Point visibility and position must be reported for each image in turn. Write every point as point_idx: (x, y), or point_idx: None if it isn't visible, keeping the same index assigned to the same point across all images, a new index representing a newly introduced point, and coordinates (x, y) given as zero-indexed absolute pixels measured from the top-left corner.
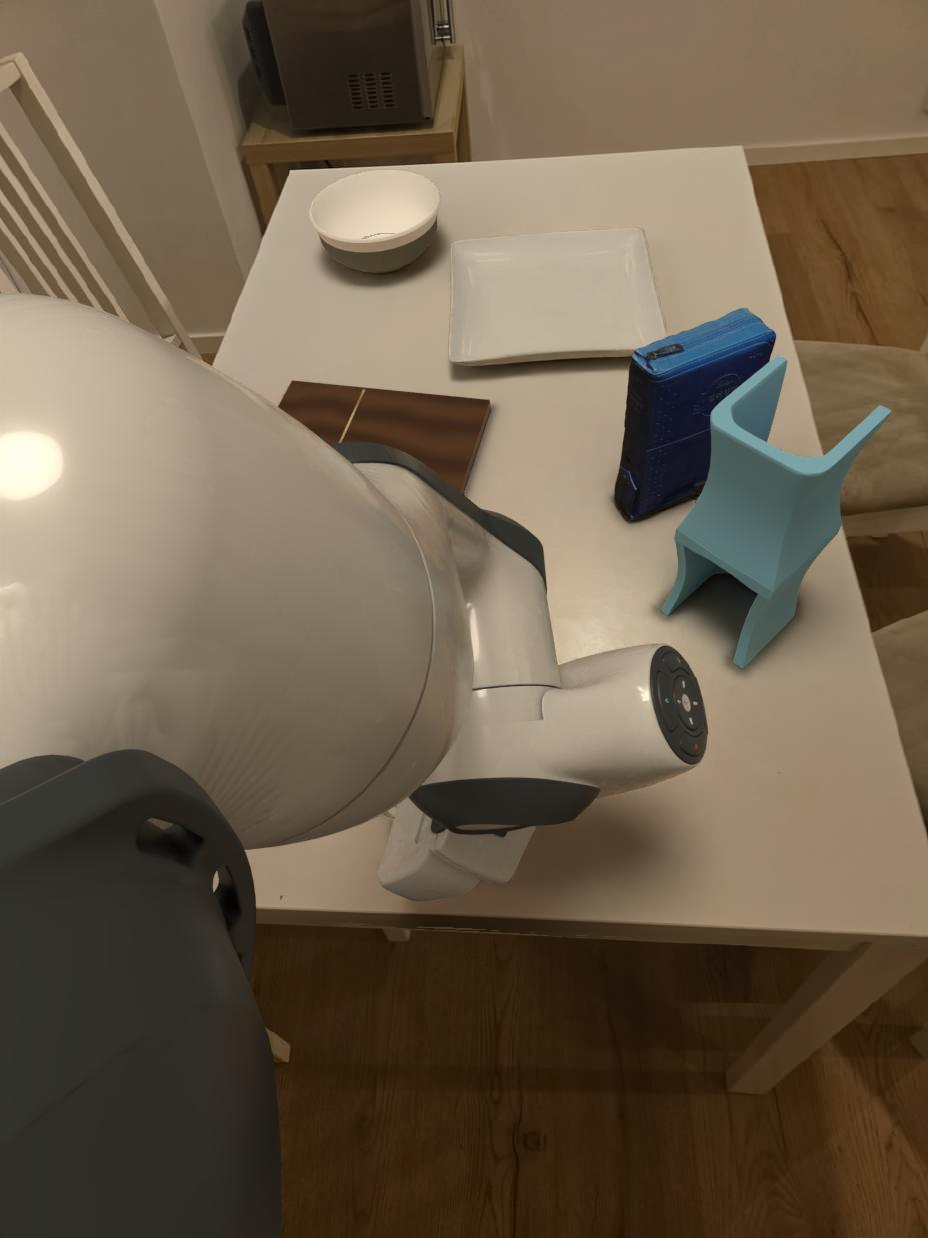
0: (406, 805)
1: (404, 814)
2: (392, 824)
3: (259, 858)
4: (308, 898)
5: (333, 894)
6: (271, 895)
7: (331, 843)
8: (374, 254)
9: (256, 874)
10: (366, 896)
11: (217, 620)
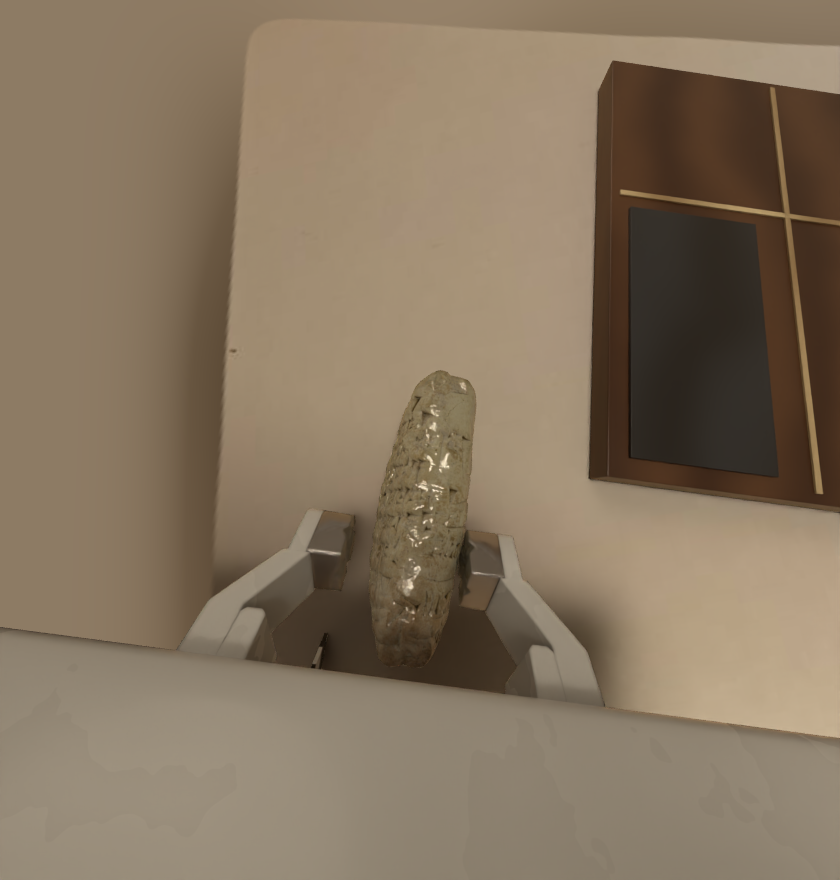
0: (94, 758)
1: (31, 764)
2: (91, 648)
3: (295, 305)
4: (230, 393)
5: (235, 431)
6: (236, 335)
7: (322, 412)
8: None
9: (269, 306)
10: (231, 488)
11: None
